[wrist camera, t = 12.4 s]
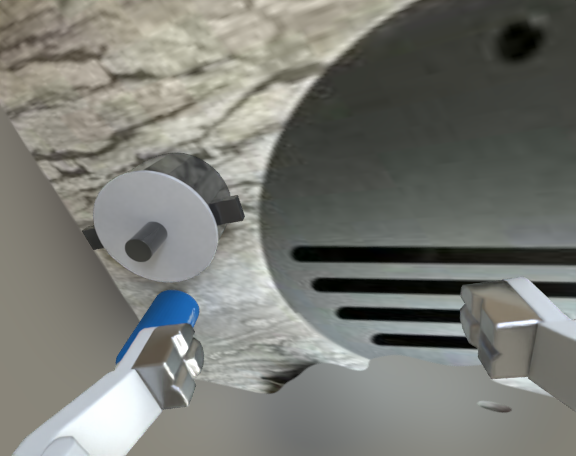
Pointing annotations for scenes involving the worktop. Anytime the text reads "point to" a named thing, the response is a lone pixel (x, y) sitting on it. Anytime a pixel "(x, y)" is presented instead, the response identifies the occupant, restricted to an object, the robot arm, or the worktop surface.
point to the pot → (198, 179)
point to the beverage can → (165, 314)
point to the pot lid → (155, 226)
